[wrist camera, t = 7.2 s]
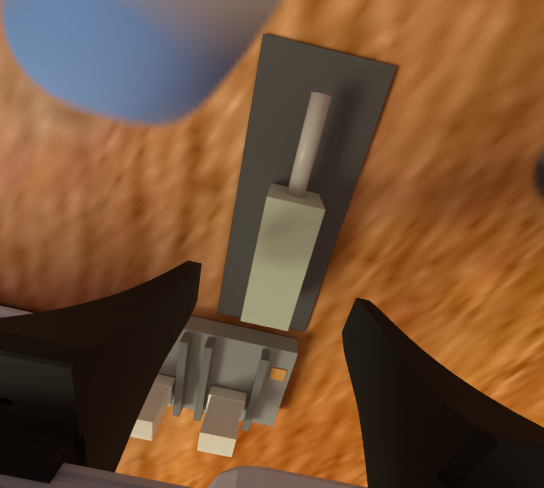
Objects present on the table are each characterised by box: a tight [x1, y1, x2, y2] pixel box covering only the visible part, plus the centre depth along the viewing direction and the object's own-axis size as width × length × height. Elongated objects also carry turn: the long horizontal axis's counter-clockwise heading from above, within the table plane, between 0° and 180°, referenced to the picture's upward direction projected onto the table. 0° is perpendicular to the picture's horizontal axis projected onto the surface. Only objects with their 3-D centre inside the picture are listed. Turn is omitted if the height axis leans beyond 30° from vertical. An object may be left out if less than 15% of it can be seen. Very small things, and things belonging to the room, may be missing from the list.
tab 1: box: [130, 374, 176, 441], centre depth 21 cm, size 3×2×4 cm
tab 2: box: [197, 385, 247, 457], centre depth 21 cm, size 3×2×4 cm
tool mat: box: [217, 34, 397, 332], centre depth 17 cm, size 7×18×1 cm, turn 168°
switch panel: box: [158, 316, 298, 431], centre depth 22 cm, size 15×9×2 cm, turn 78°
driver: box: [240, 92, 331, 331], centre depth 15 cm, size 3×13×4 cm, turn 168°
